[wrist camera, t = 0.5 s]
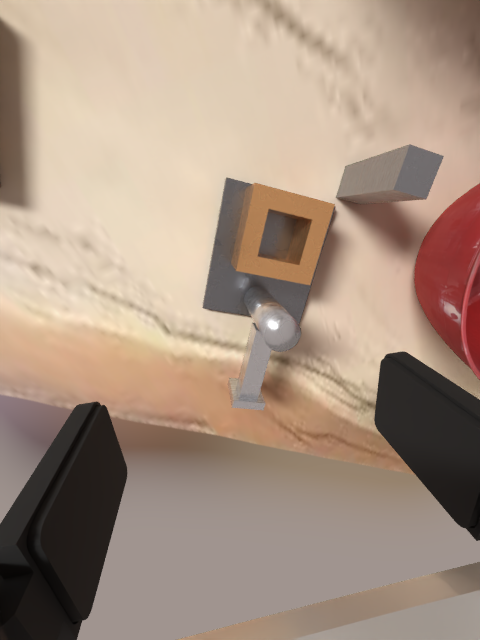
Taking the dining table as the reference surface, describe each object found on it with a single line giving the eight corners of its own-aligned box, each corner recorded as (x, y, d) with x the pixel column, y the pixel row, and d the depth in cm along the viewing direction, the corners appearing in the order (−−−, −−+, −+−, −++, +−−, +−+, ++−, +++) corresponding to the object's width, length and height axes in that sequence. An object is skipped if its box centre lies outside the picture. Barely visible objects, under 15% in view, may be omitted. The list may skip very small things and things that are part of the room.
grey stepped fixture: (225, 178, 32) (242, 156, 20) (331, 206, 35) (401, 201, 23) (191, 365, 40) (189, 428, 28) (280, 375, 43) (312, 436, 31)
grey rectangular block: (345, 166, 34) (409, 144, 23) (370, 173, 34) (443, 156, 24) (336, 197, 35) (393, 189, 25) (360, 204, 36) (426, 199, 25)
